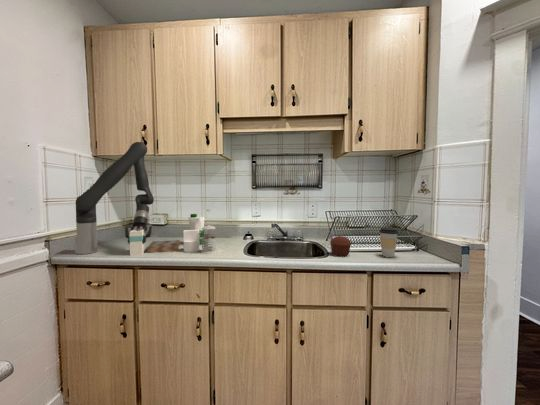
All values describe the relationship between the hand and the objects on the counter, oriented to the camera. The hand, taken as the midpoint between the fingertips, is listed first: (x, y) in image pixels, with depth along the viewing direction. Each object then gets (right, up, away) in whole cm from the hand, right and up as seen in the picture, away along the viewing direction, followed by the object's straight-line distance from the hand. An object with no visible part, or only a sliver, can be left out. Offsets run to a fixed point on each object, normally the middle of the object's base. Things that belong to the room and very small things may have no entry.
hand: (136, 243), depth 133 cm
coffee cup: (+139, -7, -2) cm, 139 cm away
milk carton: (+25, -5, +27) cm, 38 cm away
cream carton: (0, -6, +2) cm, 7 cm away
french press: (+38, -6, +7) cm, 39 cm away
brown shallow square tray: (+10, -6, +13) cm, 17 cm away
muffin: (+114, -7, +1) cm, 114 cm away
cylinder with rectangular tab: (+27, -6, +10) cm, 30 cm away
